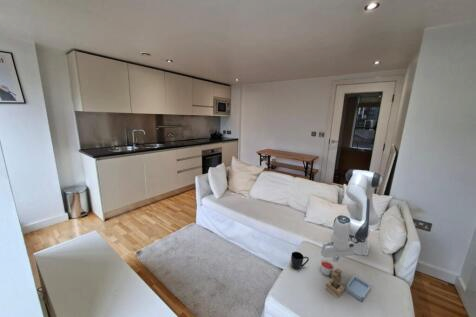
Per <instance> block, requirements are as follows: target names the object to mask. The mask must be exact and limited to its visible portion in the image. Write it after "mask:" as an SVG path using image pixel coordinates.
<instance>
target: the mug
mask: <svg viewBox="0 0 476 317" xmlns="http://www.w3.org/2000/svg"><path fill="white" fill-rule="evenodd" d="M290 256H291V257H290V261H291V262H290V263H291V265H292V266H291V267H292V268H293V269H294V270H296V271H297V270H300V269H301V268H302V267H304V266H305V265H306V264H307V263H308V262H309V257H308V256H304V255H303V254H302V253H301V252H300V251H292V253H291V255H290ZM304 259H306V261H305V262H304Z"/></svg>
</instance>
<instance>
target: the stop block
mask: <svg viewBox="0 0 476 317" xmlns="http://www.w3.org/2000/svg"><path fill="white" fill-rule="evenodd" d="M335 275H337V276H339V279H340V278H341V275H342V269H340V268H338V267H336V268H334V270H333V272H332V274H331V275H330V279H331V278H334V276H335Z"/></svg>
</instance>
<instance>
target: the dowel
mask: <svg viewBox="0 0 476 317" xmlns="http://www.w3.org/2000/svg"><path fill="white" fill-rule="evenodd" d="M339 282H340V278H339V276H337V275H335V276H334V280H333V287H335V288H336V289H338V284H339Z"/></svg>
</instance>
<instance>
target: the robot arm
mask: <svg viewBox="0 0 476 317" xmlns="http://www.w3.org/2000/svg"><path fill="white" fill-rule="evenodd" d="M345 180H346V182H348V183H347V186H346V190H345V195H346V196H347V197H348V199H349V200H351V201H349V202H348V203H347V207H346V210H347V211H348V213H349V216H346V215H343V214H339V215H338V216H336V217H335V218H334V220H333V226H332V227H333V228H332V233H331V238H330V239H331V240H330V242H325V243H324V244H323V245H322V247H321V250H320V254H321V256H322V257H323V258H325V259H327V258H332V261H333V262H334V263H339V262H340V259H342V257H349V256H353V255H358V256H368V255H369V252H370V248H371V245H370V244H369V241H368V237H369V236H370V231H371V230H370V226H375V225H377V224H378V223H379V220H380V216H379V215H378V213H377V212H376V210H375V207H374V202H373V195H374V194H373V193H374V188H379V187H380V185H382V184H383V183H382V182H383V177H382V175H381V173H379V172H373V171H369V170H364V169H363V170H362V169H353V168H351V169H348V171H346V173H345Z"/></svg>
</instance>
